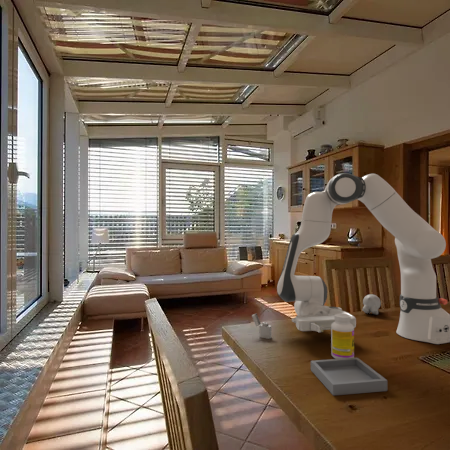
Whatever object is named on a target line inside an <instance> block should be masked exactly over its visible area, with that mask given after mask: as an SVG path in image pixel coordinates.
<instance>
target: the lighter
mask: <svg viewBox="0 0 450 450" xmlns="http://www.w3.org/2000/svg"><path fill="white" fill-rule="evenodd" d="M251 318H252V321H253V323H254V325H255V326H256V327H258V331H259V333H258V337H259V338H263V339H267V340H269V339H272V325H269V322H265V321H263V322H262V323H261V320H260V318H259V316H258V313H254V314H251Z"/></svg>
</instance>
